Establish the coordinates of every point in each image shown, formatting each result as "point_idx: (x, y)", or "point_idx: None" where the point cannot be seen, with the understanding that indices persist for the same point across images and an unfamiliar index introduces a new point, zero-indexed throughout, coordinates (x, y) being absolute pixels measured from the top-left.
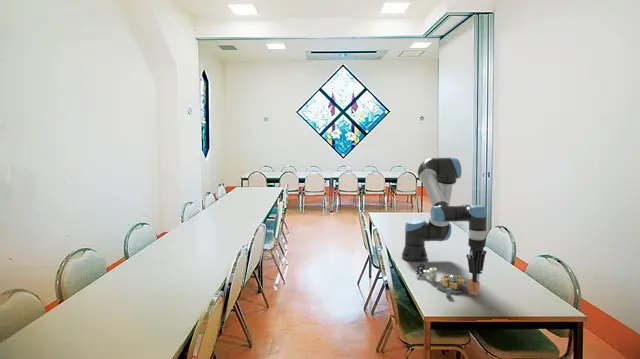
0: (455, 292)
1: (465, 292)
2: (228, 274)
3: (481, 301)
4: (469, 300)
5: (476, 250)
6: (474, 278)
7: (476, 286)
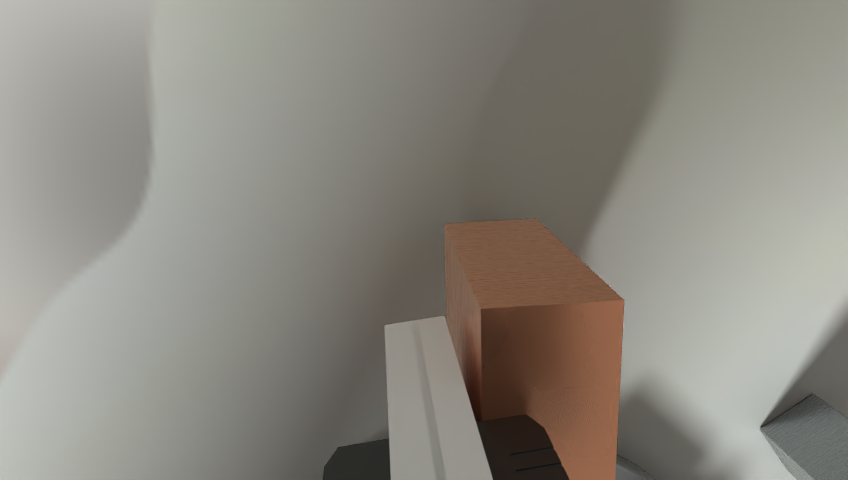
0: (645, 478)
1: None
2: None
3: (550, 66)
4: (676, 194)
5: None
6: (559, 465)
7: (577, 268)
